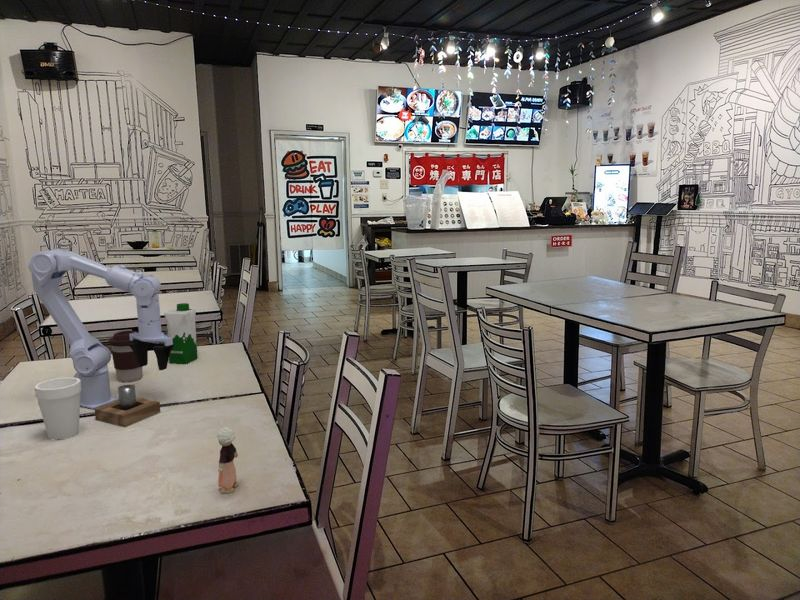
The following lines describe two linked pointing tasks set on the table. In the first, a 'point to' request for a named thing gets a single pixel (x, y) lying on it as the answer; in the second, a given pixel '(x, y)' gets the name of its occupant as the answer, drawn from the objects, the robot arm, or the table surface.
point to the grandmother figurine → (227, 461)
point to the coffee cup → (124, 357)
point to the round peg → (127, 397)
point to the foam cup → (60, 406)
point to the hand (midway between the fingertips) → (153, 367)
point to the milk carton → (182, 334)
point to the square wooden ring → (127, 412)
